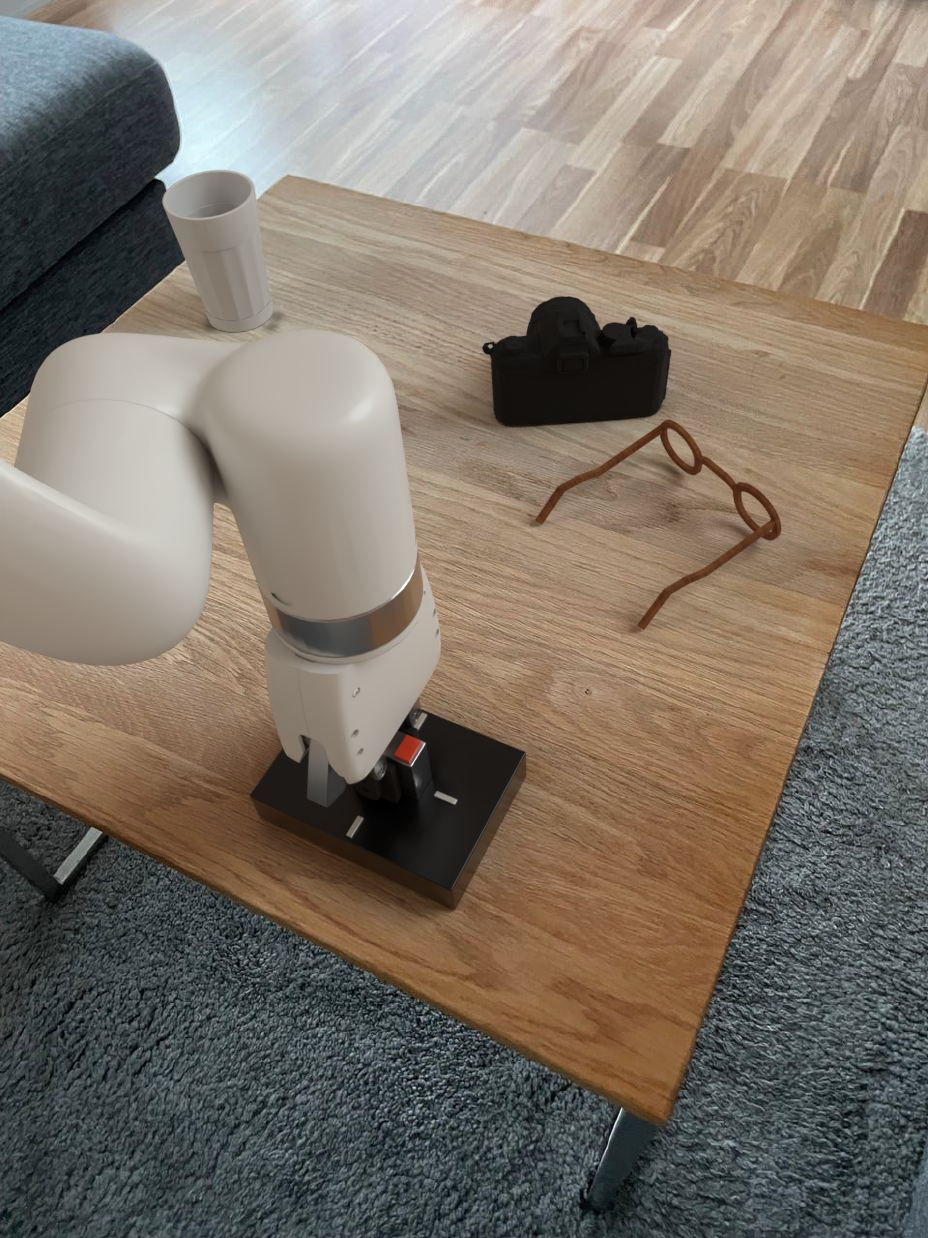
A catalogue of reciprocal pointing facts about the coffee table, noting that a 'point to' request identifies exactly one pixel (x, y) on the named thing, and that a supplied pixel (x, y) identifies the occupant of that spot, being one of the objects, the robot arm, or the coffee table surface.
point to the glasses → (698, 462)
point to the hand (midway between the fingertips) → (388, 772)
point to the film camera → (577, 368)
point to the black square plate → (408, 811)
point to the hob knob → (410, 763)
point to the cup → (222, 246)
